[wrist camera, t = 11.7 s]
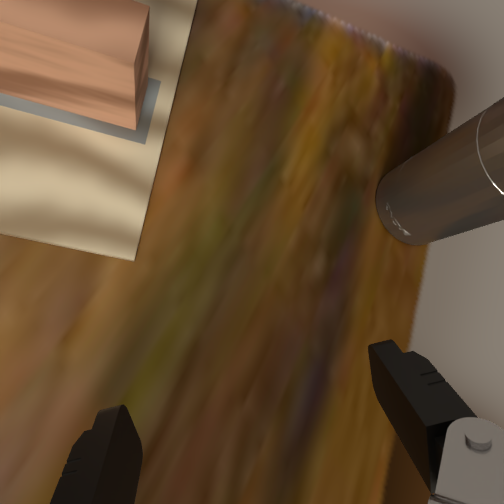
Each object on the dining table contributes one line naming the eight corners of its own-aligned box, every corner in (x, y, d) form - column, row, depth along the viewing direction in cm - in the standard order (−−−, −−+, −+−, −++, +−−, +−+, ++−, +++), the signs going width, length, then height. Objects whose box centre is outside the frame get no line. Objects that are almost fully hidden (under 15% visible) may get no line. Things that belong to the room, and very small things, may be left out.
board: (134, 261, 36) (134, 260, 36) (-106, 211, 32) (-112, 208, 32) (196, 2, 43) (197, -4, 43) (5, -66, 39) (2, -74, 38)
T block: (135, 130, 38) (134, 63, 29) (-28, 85, 35) (-91, -7, 25) (167, 9, 41) (175, -87, 32) (20, -42, 38) (-19, -165, 29)
